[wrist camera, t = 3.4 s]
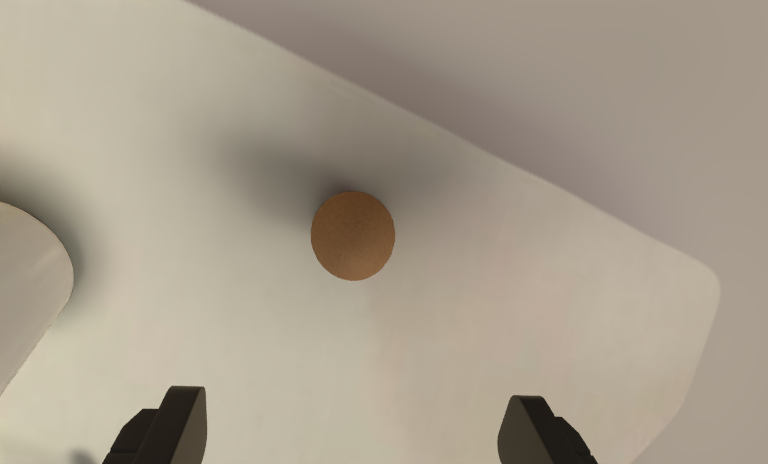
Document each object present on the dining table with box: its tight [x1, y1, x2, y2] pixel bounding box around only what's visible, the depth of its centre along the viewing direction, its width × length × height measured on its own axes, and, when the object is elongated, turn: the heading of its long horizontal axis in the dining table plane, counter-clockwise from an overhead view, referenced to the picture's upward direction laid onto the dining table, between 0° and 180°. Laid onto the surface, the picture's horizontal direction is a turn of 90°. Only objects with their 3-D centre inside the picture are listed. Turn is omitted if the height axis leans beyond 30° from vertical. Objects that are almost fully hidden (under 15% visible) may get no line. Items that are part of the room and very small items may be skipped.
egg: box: [311, 191, 395, 281], centre depth 22 cm, size 4×4×6 cm
